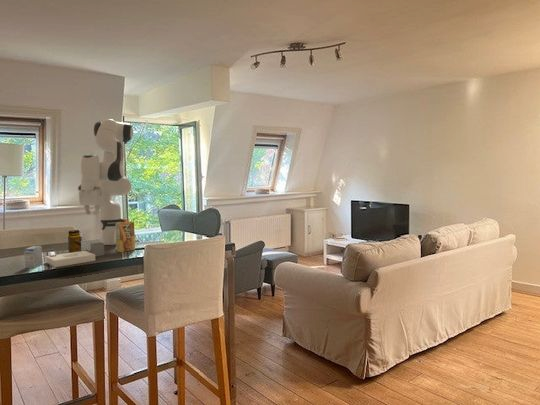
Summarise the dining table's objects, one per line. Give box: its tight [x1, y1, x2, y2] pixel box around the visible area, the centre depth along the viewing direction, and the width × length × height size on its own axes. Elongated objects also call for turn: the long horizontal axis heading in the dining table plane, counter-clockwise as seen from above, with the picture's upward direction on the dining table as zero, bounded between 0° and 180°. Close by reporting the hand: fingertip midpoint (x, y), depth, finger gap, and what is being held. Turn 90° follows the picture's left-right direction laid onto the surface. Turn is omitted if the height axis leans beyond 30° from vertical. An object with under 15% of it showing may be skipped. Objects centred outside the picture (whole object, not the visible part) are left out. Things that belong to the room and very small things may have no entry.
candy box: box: [115, 220, 136, 253], centre depth 227 cm, size 9×4×15 cm, turn 142°
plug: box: [89, 241, 106, 257], centre depth 217 cm, size 5×5×6 cm
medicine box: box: [23, 245, 44, 269], centre depth 195 cm, size 8×4×9 cm, turn 5°
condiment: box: [63, 229, 82, 254], centre depth 223 cm, size 7×8×12 cm
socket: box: [45, 250, 96, 268], centre depth 203 cm, size 18×14×3 cm
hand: (92, 214), depth 214 cm, fingers open, 8 cm apart
